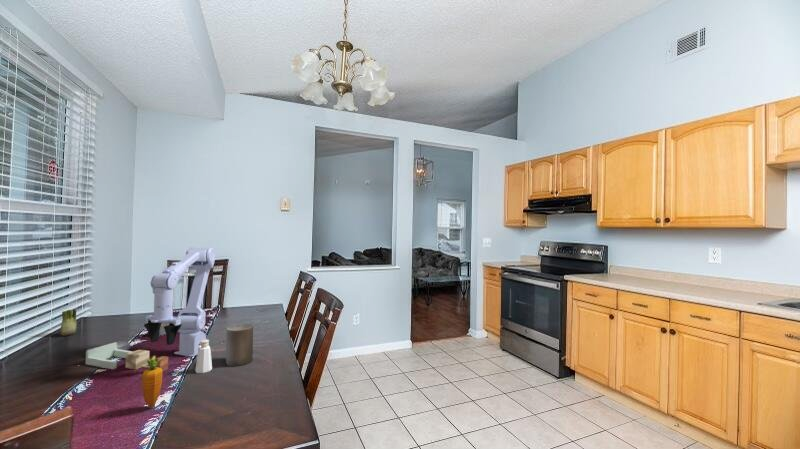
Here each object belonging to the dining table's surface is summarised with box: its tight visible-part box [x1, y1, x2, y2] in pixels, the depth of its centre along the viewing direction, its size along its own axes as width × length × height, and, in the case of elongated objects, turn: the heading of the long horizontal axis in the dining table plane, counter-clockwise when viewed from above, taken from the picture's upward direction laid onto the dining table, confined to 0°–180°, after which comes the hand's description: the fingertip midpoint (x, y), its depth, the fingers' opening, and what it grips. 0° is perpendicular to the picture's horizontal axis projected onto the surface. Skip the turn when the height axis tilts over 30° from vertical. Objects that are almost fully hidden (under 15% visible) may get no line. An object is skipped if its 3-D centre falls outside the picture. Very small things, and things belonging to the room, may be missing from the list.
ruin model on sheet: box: [159, 315, 178, 337], centre depth 164 cm, size 11×3×10 cm, turn 151°
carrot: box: [141, 355, 164, 409], centre depth 98 cm, size 5×5×15 cm
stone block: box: [87, 340, 131, 351], centre depth 138 cm, size 12×5×10 cm
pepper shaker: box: [194, 338, 213, 374], centre depth 124 cm, size 5×5×11 cm
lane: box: [85, 341, 134, 370], centre depth 130 cm, size 14×10×5 cm
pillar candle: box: [225, 322, 254, 367], centre depth 133 cm, size 10×10×15 cm
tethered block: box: [125, 349, 169, 372], centre depth 125 cm, size 16×5×5 cm, turn 74°
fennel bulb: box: [59, 308, 77, 337], centre depth 158 cm, size 6×5×12 cm
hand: (162, 342), depth 124 cm, fingers open, 7 cm apart
